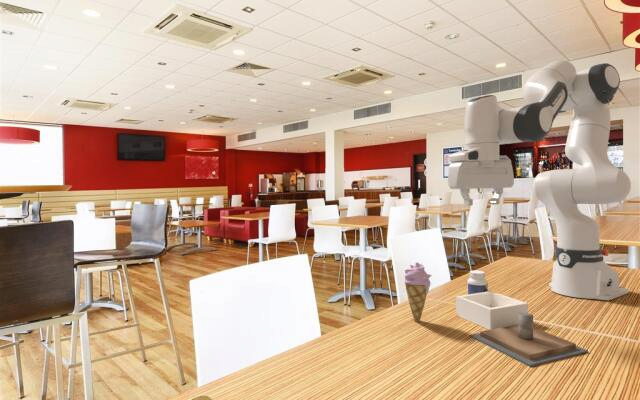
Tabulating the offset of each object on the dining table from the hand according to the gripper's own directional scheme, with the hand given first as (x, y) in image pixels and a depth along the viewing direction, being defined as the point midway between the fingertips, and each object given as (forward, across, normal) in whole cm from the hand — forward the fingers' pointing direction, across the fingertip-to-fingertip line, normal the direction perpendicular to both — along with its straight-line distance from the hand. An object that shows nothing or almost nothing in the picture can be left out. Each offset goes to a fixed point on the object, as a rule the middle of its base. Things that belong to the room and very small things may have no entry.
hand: (482, 205), depth 106 cm
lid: (+29, +9, +22) cm, 37 cm away
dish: (+29, +4, +7) cm, 30 cm away
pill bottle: (+29, -1, -3) cm, 29 cm away
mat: (+29, +9, +22) cm, 38 cm away
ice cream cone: (+29, +22, +1) cm, 37 cm away
